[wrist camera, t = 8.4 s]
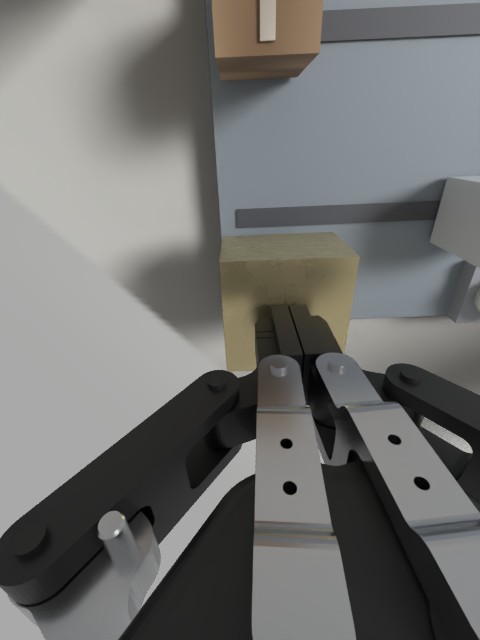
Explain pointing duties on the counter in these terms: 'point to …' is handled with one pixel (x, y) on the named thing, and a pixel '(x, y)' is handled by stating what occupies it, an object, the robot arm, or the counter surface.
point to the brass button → (283, 285)
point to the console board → (362, 148)
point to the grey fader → (459, 219)
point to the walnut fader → (265, 37)
